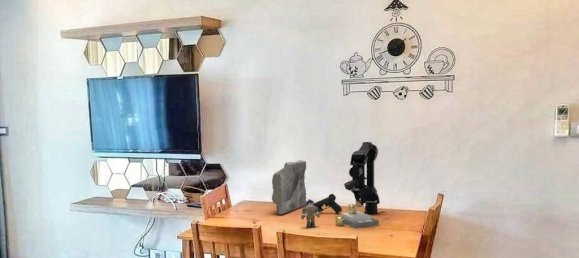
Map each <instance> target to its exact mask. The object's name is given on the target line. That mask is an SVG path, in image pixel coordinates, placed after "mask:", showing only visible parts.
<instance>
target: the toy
mask: <svg viewBox="0 0 579 258" xmlns="http://www.w3.org/2000/svg"><path fill="white" fill-rule="evenodd" d="M306 202H307V205H306V206H303V207H302V211H301V217H300V219H302V220H304V219H305V218H306V228H307V229H315V228H316V227H317V226H316V224H315V223H316V222H315V219H316V217H317V218H318V219H319V218H320V217H321V215H320V212H318V207H316V206H313V205H314V203H315V201H314V200H312V199H308V200H306ZM314 211H315V212H314Z"/></svg>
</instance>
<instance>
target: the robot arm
mask: <svg viewBox="0 0 579 258" xmlns="http://www.w3.org/2000/svg"><path fill="white" fill-rule="evenodd" d="M378 155H379V149H378V146H377V145H375V144H373V143H372V142H371V141H364V142H362V144H361V146H360V147H359V149H358V150H355V151H354V152H352V153H351V158H350V163H349V165H350V166H352V167H351V168H350V169H348V175H349V176H350V177H351V180H349V181H347V182H345V183H343V185H344V188H345V190H347V191H350V192H352V194H353V196H354V199H355V201H356V200H360V202H361V205H363V204H364V212H363V213H364V214H367V215H369V216H373V215H379V214H380V213H379V212H378V205H379V204H380V197H379V194H378V189H377V188H376V187H375V161H376V159H377V157H378ZM365 166H366V168H365Z"/></svg>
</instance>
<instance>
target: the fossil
mask: <svg viewBox="0 0 579 258" xmlns="http://www.w3.org/2000/svg"><path fill="white" fill-rule="evenodd" d="M306 170H307V161H306V160H300V159H299V160H297V161H289V162H285V163H284V166H283V167H282V168H281V169H280V170H278V171H276V172H274V174H273V175H272V181H271V185H272V191H273V192H272V194H271V195H272V197H271V200H272V203H274V204H275V205H276V206H275V209H276V214H277V215H284V214H286V213H289V212H293V211H294V210H298V209H300V208H304V207H307V192H306V191H307V190H306V185H305V182H306V181H305V179H306V178H305V177H306V175H305V174H306V173H305V172H306Z"/></svg>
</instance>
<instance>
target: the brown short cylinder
mask: <svg viewBox="0 0 579 258" xmlns="http://www.w3.org/2000/svg"><path fill="white" fill-rule="evenodd" d="M355 205H356V207H357V208H365V203H364V204H363V205H361V202H360V200H356V199H355Z"/></svg>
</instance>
